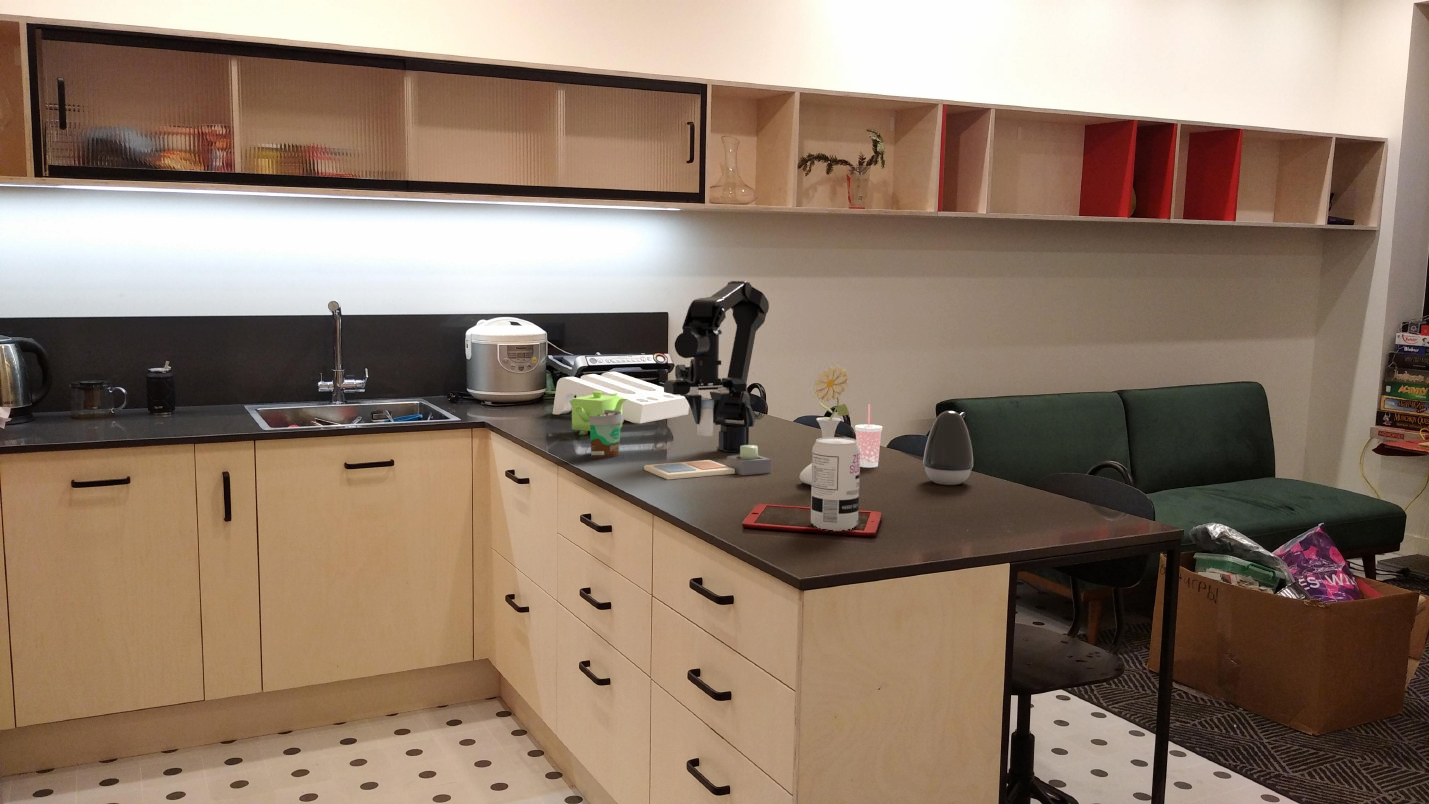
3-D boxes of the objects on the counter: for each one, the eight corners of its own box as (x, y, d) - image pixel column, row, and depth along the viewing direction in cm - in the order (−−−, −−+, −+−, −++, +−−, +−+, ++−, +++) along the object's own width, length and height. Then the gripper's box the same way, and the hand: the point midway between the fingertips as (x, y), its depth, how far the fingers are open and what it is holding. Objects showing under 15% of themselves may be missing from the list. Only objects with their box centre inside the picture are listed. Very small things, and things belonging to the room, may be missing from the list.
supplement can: (806, 520, 191) (808, 436, 189) (852, 520, 192) (855, 436, 190) (814, 532, 183) (816, 444, 181) (862, 531, 184) (865, 444, 182)
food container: (615, 460, 248) (614, 417, 247) (589, 459, 249) (589, 416, 248) (629, 451, 260) (629, 410, 259) (605, 450, 261) (605, 409, 260)
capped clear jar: (708, 433, 250) (709, 398, 249) (716, 435, 247) (716, 400, 246) (694, 434, 248) (694, 399, 247) (701, 436, 245) (701, 400, 244)
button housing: (754, 467, 241) (754, 454, 241) (770, 472, 235) (770, 459, 235) (727, 469, 238) (727, 456, 238) (742, 475, 232) (742, 461, 231)
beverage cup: (880, 468, 241) (882, 406, 240) (853, 467, 243) (854, 405, 241) (882, 463, 247) (883, 403, 246) (855, 462, 248) (856, 402, 247)
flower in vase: (789, 482, 225) (792, 362, 222) (838, 478, 229) (841, 361, 226) (818, 494, 213) (821, 368, 210) (869, 490, 217) (872, 366, 214)
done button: (752, 460, 239) (752, 444, 238) (760, 463, 235) (761, 447, 235) (737, 461, 237) (737, 445, 237) (745, 464, 234) (745, 448, 233)
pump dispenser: (982, 482, 227) (985, 410, 225) (955, 489, 219) (958, 415, 217) (940, 475, 234) (943, 406, 232) (912, 482, 226) (915, 410, 224)
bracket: (642, 404, 305) (558, 375, 321) (636, 445, 308) (552, 414, 324) (691, 396, 325) (609, 369, 341) (684, 434, 327) (603, 406, 344)
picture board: (709, 464, 244) (709, 459, 244) (734, 473, 234) (734, 468, 234) (644, 469, 237) (644, 464, 237) (667, 479, 226) (667, 473, 226)
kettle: (617, 428, 297) (617, 387, 295) (632, 436, 284) (632, 393, 282) (563, 430, 291) (563, 389, 290) (576, 438, 278) (576, 395, 277)
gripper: (725, 351, 257) (724, 417, 258) (653, 353, 248) (653, 421, 250) (748, 355, 247) (747, 423, 249) (674, 357, 238) (674, 427, 240)
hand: (705, 423), depth 247 cm, fingers closed on capped clear jar, 4 cm apart
